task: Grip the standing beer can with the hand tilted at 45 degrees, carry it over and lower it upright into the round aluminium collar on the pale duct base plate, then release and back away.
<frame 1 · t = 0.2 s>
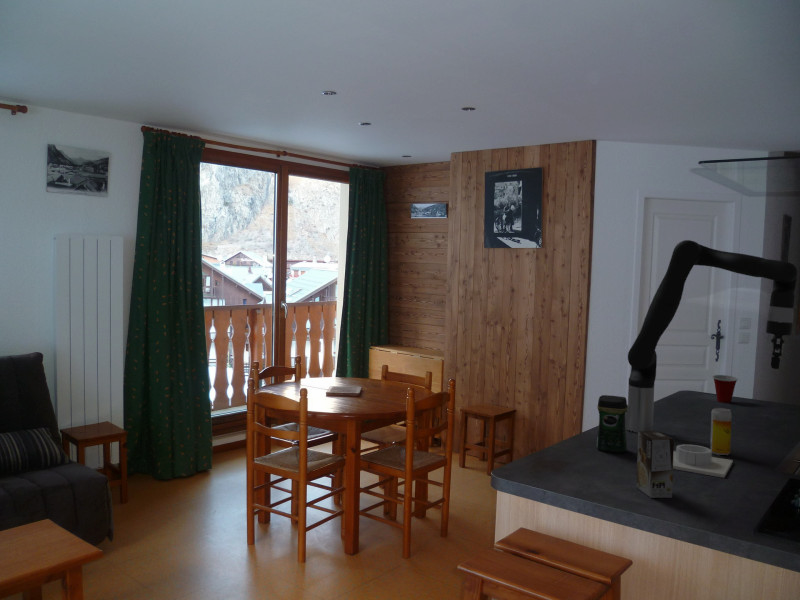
hand: (774, 367, 219), 29 cm above the counter, tool pointing down, fingers open, 8 cm apart
coffee box: (653, 493, 176), on the counter
duct base: (693, 464, 202), on the counter
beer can: (720, 454, 215), on the counter
coffee jar: (611, 450, 218), on the counter
plastic cup: (724, 402, 304), on the counter
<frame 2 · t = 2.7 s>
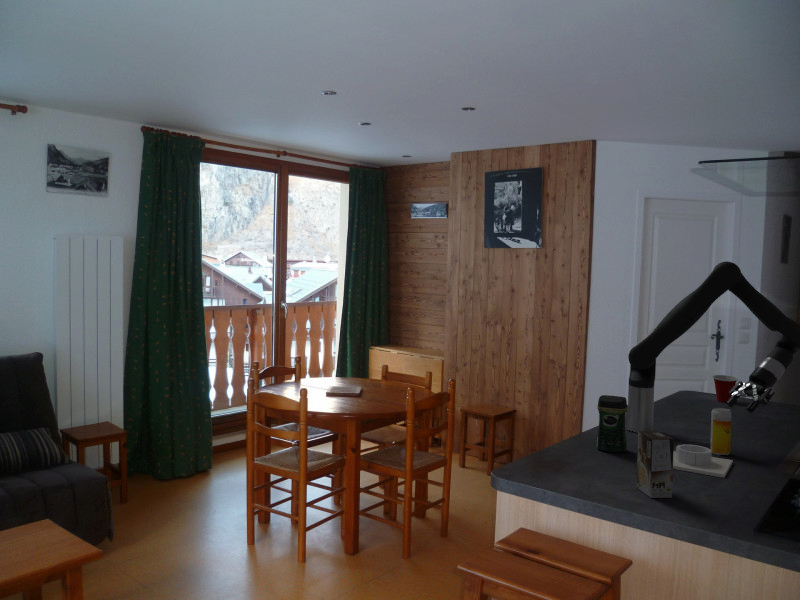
hand: (738, 408, 216), 15 cm above the counter, tool tilted 45°, fingers open, 8 cm apart
nothing on the counter moved.
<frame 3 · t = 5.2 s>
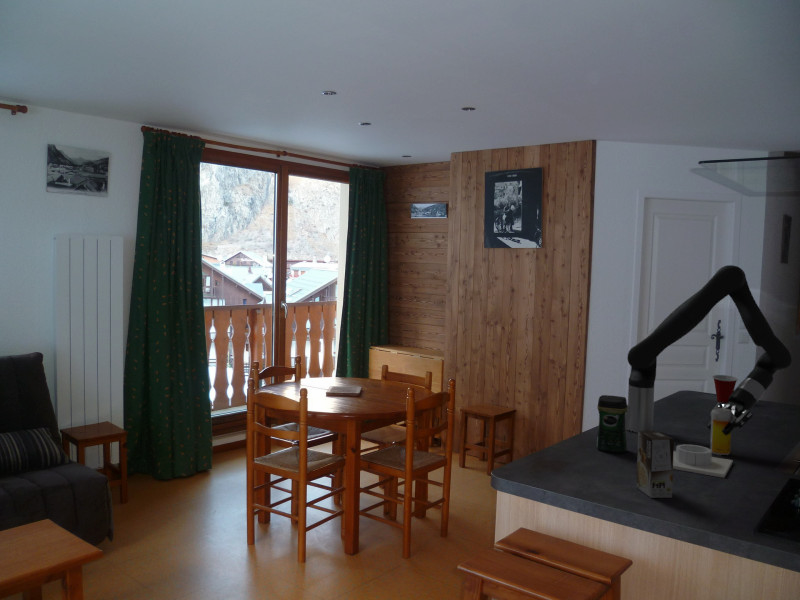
hand: (716, 430, 214), 8 cm above the counter, tool tilted 45°, fingers closed on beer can, 6 cm apart
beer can: (720, 454, 215), on the counter, touching gripper
everything else where it was.
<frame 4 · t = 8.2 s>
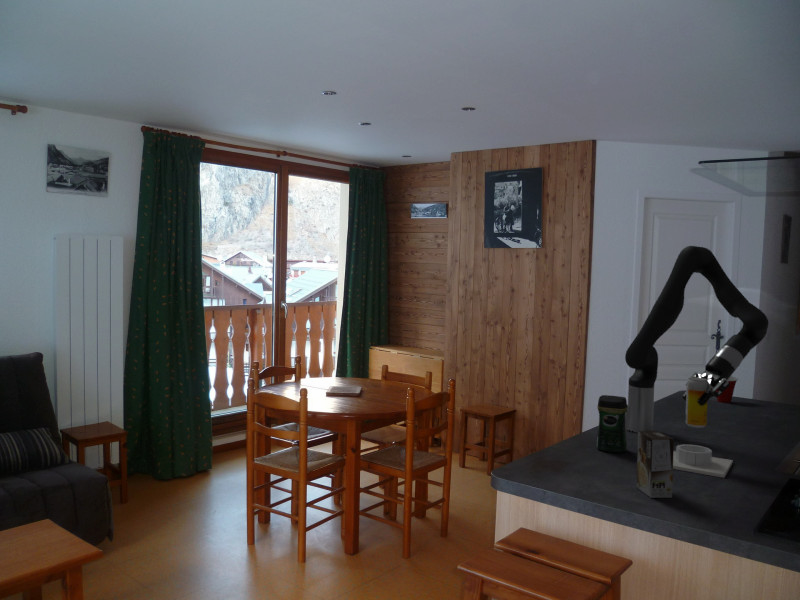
hand: (692, 401, 201), 20 cm above the counter, tool tilted 45°, fingers closed on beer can, 6 cm apart
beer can: (695, 426, 202), point 12 cm above the counter, touching gripper
everything else where it was.
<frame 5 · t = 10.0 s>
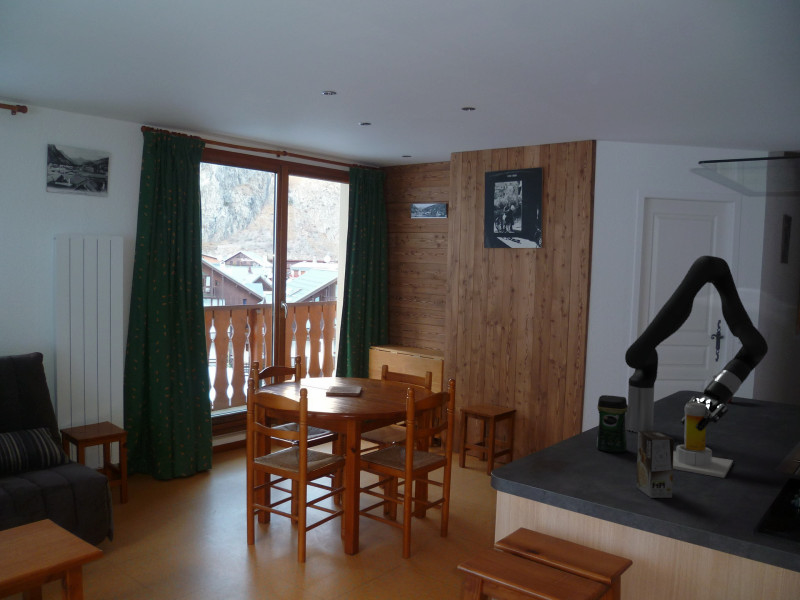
hand: (690, 426, 201), 12 cm above the counter, tool tilted 45°, fingers closed on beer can, 6 cm apart
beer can: (694, 451, 202), point 4 cm above the counter, touching gripper
everything else where it was.
when the fingers open (10 cm above the counter, at t = 11.5 s): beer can drops 1 cm, resting on duct base.
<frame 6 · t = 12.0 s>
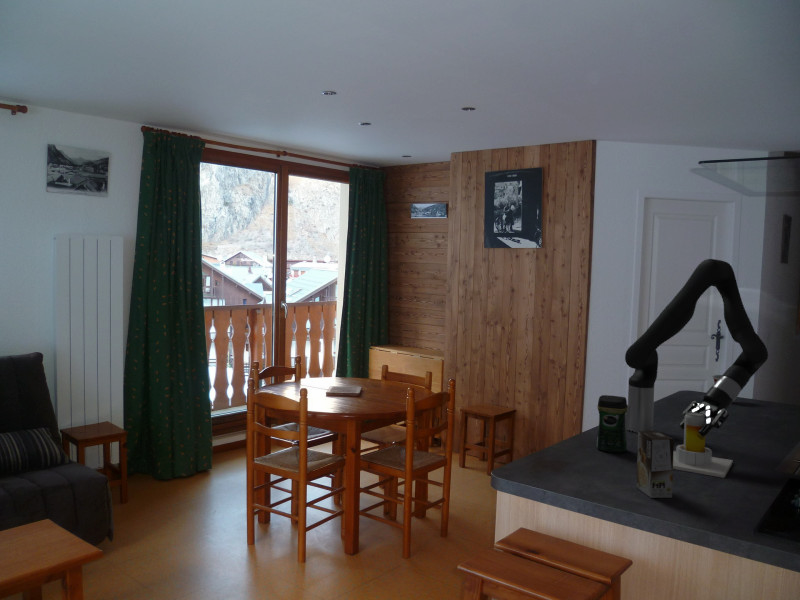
hand: (690, 431, 201), 11 cm above the counter, tool tilted 45°, fingers open, 8 cm apart
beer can: (693, 461, 202), point 1 cm above the counter, touching duct base
everything else where it was.
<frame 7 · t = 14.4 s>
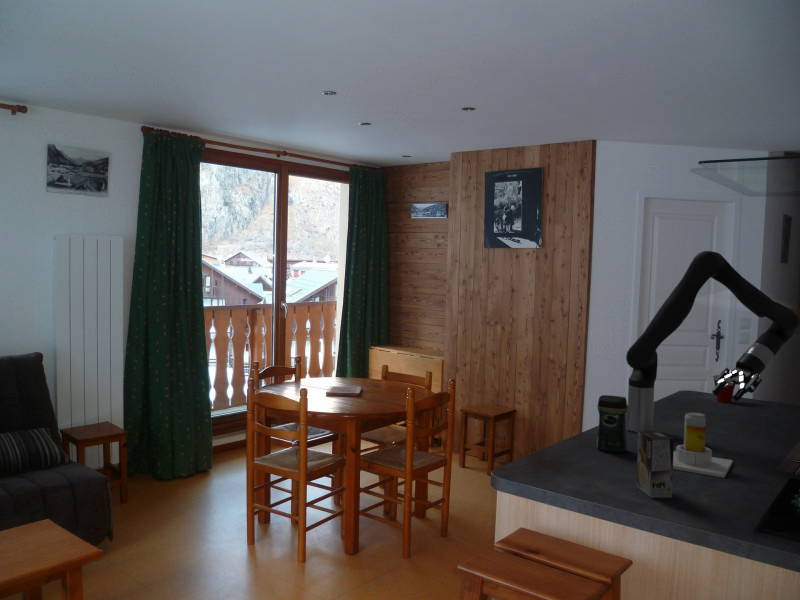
hand: (724, 396, 205), 21 cm above the counter, tool tilted 45°, fingers open, 8 cm apart
nothing on the counter moved.
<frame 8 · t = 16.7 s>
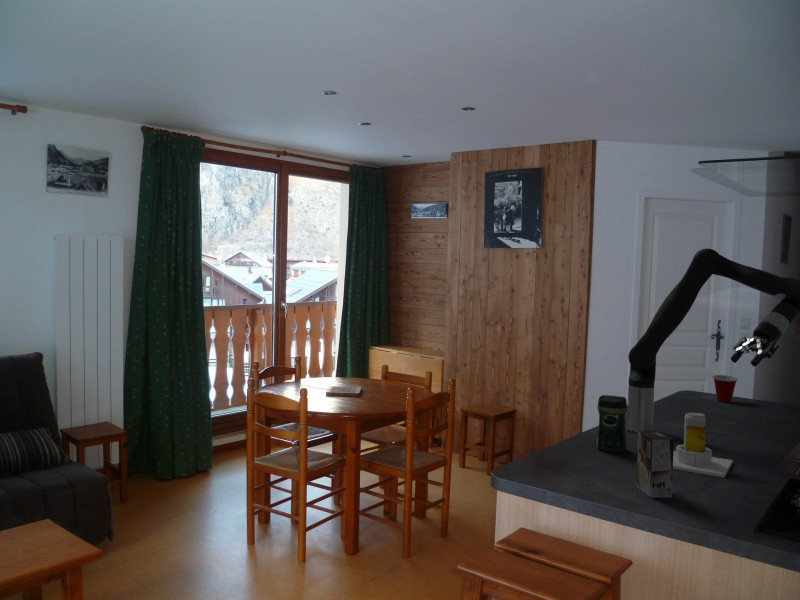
hand: (742, 362, 215), 31 cm above the counter, tool tilted 45°, fingers open, 8 cm apart
nothing on the counter moved.
at the end: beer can 0.3 cm off-centre on the duct base, point 0.8 cm above the duct base's base; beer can tilted 0°; the gripper is holding nothing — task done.
